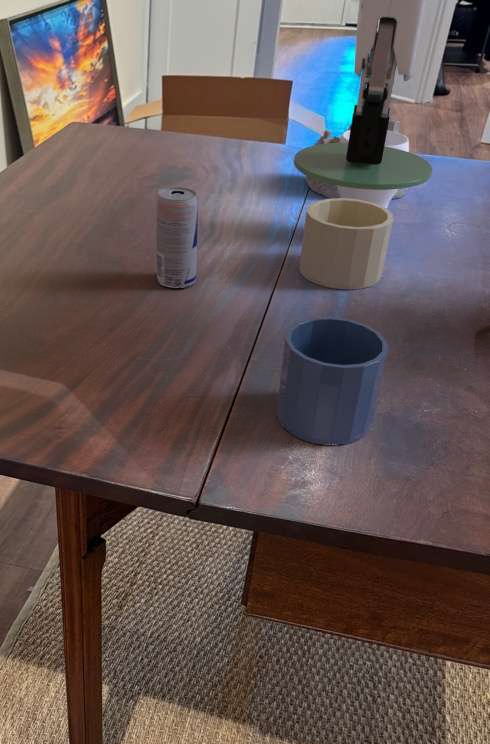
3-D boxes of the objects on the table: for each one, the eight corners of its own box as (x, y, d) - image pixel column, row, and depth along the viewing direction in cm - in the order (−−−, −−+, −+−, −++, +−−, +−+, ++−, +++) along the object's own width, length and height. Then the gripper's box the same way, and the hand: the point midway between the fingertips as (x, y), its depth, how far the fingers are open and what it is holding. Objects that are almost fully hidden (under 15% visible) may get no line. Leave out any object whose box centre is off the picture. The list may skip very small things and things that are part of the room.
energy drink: (196, 273, 100) (199, 187, 92) (195, 290, 95) (197, 201, 88) (158, 272, 100) (158, 185, 92) (155, 289, 96) (154, 199, 88)
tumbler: (327, 382, 79) (339, 308, 73) (390, 426, 72) (408, 349, 67) (258, 408, 74) (265, 332, 69) (318, 457, 68) (332, 378, 62)
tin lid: (364, 147, 74) (374, 83, 70) (458, 183, 66) (477, 112, 62) (266, 164, 69) (272, 95, 65) (356, 205, 60) (369, 129, 57)
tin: (342, 249, 108) (351, 193, 103) (398, 278, 100) (411, 218, 95) (283, 265, 103) (289, 206, 97) (337, 296, 95) (347, 235, 90)
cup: (330, 221, 117) (345, 124, 107) (396, 231, 114) (416, 132, 105) (317, 245, 109) (331, 142, 100) (387, 256, 106) (408, 151, 97)
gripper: (463, -87, 48) (405, 188, 60) (449, -90, 61) (404, 138, 72) (351, -91, 49) (316, 180, 61) (360, -94, 62) (329, 131, 73)
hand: (364, 155), depth 66 cm, fingers closed on tin lid, 2 cm apart
